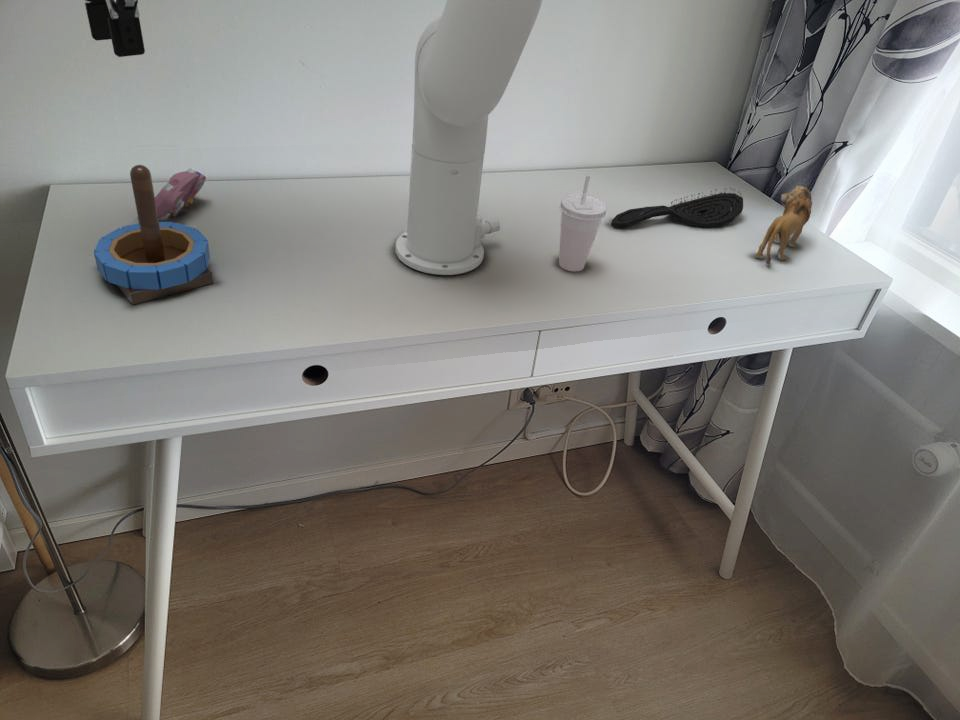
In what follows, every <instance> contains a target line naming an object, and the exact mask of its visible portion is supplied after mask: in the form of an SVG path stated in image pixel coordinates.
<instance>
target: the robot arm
mask: <svg viewBox="0 0 960 720" xmlns="http://www.w3.org/2000/svg"><path fill="white" fill-rule="evenodd" d="M84 1H85V3H84V6H85V10H86V15H87V19H88V26H89V29H90V34H91V38H92V39H94V40H95V41H108V40H111V43H112V50H113V53H114V55H115V56H117V58H124V57H132V56H141V55H144V54H145V53H146V49H145V42H144V37H143V32H142V26H141V21H140V11H139V6H138V4H139V0H84ZM542 2H543V0H446V3H445V5H444V8H443V11H442V14H441V16H439V17H437V18H435V19H434V20H433V21H431V22H430V23H429V24H428V25H427V26H426V27H425V28H424V30H423V32H422V33H421V34H420V37H419V39H418V42H417V44H416V49H415V56H414V86H413V87H414V89H413V91H414V92H413V100H414V101H413V122H412V123H413V124H412V143H411V153H410V154H411V157H410V175H409V191H408V192H409V193H408V211H407V227H406V228H407V229H406V231H405V232H402V234H400V235H399V236H398V238H396V240H395V254H396V257H397V258H398V259H399V260H400V261H401V262H402V264H404V265H406V266H407V267H409V268H411V269H413V270H415V271H417V272H422V273H425V274H430V275H436V276H454V275H460V274H465V273H468V272H471V271H472V270H475V269H476V268H478V267H479V266H480V265H481V264H482V262H483V260H484V254H485V250H484V246H483V244H482V243H481V239H484V237H485V235H489V234H490V235H491V234H494V233H496V232H499V231H500V230H501V223H500V221H499V220H498V219H497V218H491V219H488V220H485V221H483V218H482V217H481V216H480V215H478V212H479V204H480V203H479V202H480V194H481V186H482V179H483V167H484V159H485V153H486V144H487V136H488V135H487V134H488V124H489V115H490V114H491V113H492V112H493V111H494V110H495V108H496V107H497V106H498V105H499V103H500V101H501V99H502V98H503V96H504V94H505V92H506V90H507V88H508V86H509V85H508V84H509V83H510V81H511V79H512V76H513V75H514V71H515V69H516V67H517V65H518V63H519V60H520V58H521V56H522V53H523V52H524V49H525V47H526V44H527V42H528V40H529V37H530V35H531V33H532V30H533V28H534V25H535V23H536V21H537V18H538V16H539V13H540V9H541V7H542Z"/></svg>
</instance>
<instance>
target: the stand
mask: <svg viewBox="0 0 960 720" xmlns="http://www.w3.org/2000/svg"><path fill="white" fill-rule="evenodd" d="M129 174H130V175H129V176H130V181H131V182H130V183H131V187H132V192H133V197H134V203H135V204H134V205H135V208H136V213H137V219H138V220H137V221H138V223H139V225H140V230H141V236H142V241H143V247H144V248H140V249H135V250H133V251H131V252H129V253H128V254H126V255H124V256H123V257H121V258H122V259H125V260H128V261H131V262H135V263H158V262H162V261H166V260H171V259H175V258H176V257H178V256H180V255H181V254H183V253H184V252H186V251H185V250H181V249H178V248H175V247H172V246H163V244H162V238H161V232H160V226H159V222H160V221H159V220H160V219H158V214H157V208H156V202H155V197H156V196H155V190H154V183H153V179H152V174H151V171H150V169H149V168H148V167H147V166H146V165H143V164H135V165H134V166H132V168H131V169H130V171H129ZM213 278H214V277H213V272H212V271H211V270H210V269H209V268H208V267H207V269H206V271H204V272H203V273H201V274H200V275H199V276H197V277H196V278H194V279H193V280H191V281H187V283H184V284H180V285H176V286H172V287H168V288H165V289H162V288H161V287H160V288H159V290H158V289H132V288H129V289H128V288H125V287H122V286H119V285H117V287H118V288H119V290H120V291H121V292H122V294H124V296H125V297H126V299H127V300H128V302H130V304H131V305H132V306H135V305H138V304H142V303H145V302H149V301H153V300H156V299H160V298H164V297H167V296H172V295H175V294H179V293H182V292H187V291H189V290H193V289H196V288H200V287H205V286H207V285H212V284H214V280H213Z"/></svg>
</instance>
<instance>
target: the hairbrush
mask: <svg viewBox="0 0 960 720" xmlns="http://www.w3.org/2000/svg"><path fill="white" fill-rule="evenodd" d="M717 190H718V189H717V188H715V189H714V191H715V192H714V194H713V193H712V192H713V191H712V190H711V191H710V194H709V195H706V194H705V195H704V192H702V195H701V197H700V192H698V196H697V197H694V199H693V198H690V200H687V199H686V198H689V196H688V195H687V196H684V197H680V198H678V199H677V198H676V199H674V200H672V201H671V202H670V204H671V206H667V205H651V206H643V207H637V208H629V209H628V210H625V211H623V212H620V213H618V214H616V215H615V216H614V218H612V219H611V223H610V226H612V227H613V228H614V229H617V228H619V229H620V228H628V227H632V226H635V225H637V224H640V223H643V222H645V221H648V220H650V219H653V218H656V217H663V216H670V217H672V218H674V219H676V220H677V221H680V222H682V223H684V224H688V225H689V226H692V227H698V228H703V229H704V228H705V229H710V228H711V229H712V228H720V227H723V226H725V225H727V224H730V223H732V222H733V221H734V220H735V219H736V218H738V216H740V214H742V212H743V210H744V197H743V196H742V193H741V192H740V191H739V190H738V191H737V193H738V194H736V189H733V192H726V191H727V188H724V191H720V192H719V193H717ZM730 190H732V187H730ZM693 196H694V194H691V195H690V197H693ZM682 200H683V201H682ZM677 201H679V203H678V202H677ZM674 202H675V203H674Z"/></svg>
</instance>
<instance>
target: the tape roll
mask: <svg viewBox="0 0 960 720" xmlns="http://www.w3.org/2000/svg"><path fill="white" fill-rule="evenodd" d="M159 226H160V232H161V238H162V244H163V246H172V247H175V248H178V249H181V250H185V251H186V252H184V253H183V254H181V255H180V256H178V257H176V258H175V259H171V260H166V261H162V262H158V263H135V262H131V261H128V260H125V259H122V258H121V257H123V256H124V255H126V254H128V253H129V252H131V251H133V250H135V249H140V248H144V247H143V241H142V236H141V230H140V225H139V222H138V223H134V224H133V223H132V224H129V225H124V226H121V227H118V228H116V229H114V230H113V231H110V232H109V233H107V234H105V235H103V236H102V237H101V238H99V240H98V242H97V243H96V246H95V248H94V249H93V255H94V260H95V263H96V268H97V271H98V272H99V273H100V274H101V276H102V277H103V279H104V280H105V281H106V282H107V283H111V284H114V285H116V286H118V285H119V286H122V287H125V288H128V289H129V288H132V289H158V290H159V288H160V287H161V288H162V289H165V288H168V287H172V286H176V285H180V284H184V283H187V281H191V280H193V279H194V278H196V277H197V276H199V275H200V274H201V273H203V272H204V271H206V269H207V268H208V266H209V261H210V259H211V254H210V247H209V246H210V245H209V240H208V238H207V237H206V236H205V235H204V234H203V233H202V232H201V231H200V230H199V229H197V228H196V227H193V226H189V225H186V224H183V223H179V222H174V221H159Z"/></svg>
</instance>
